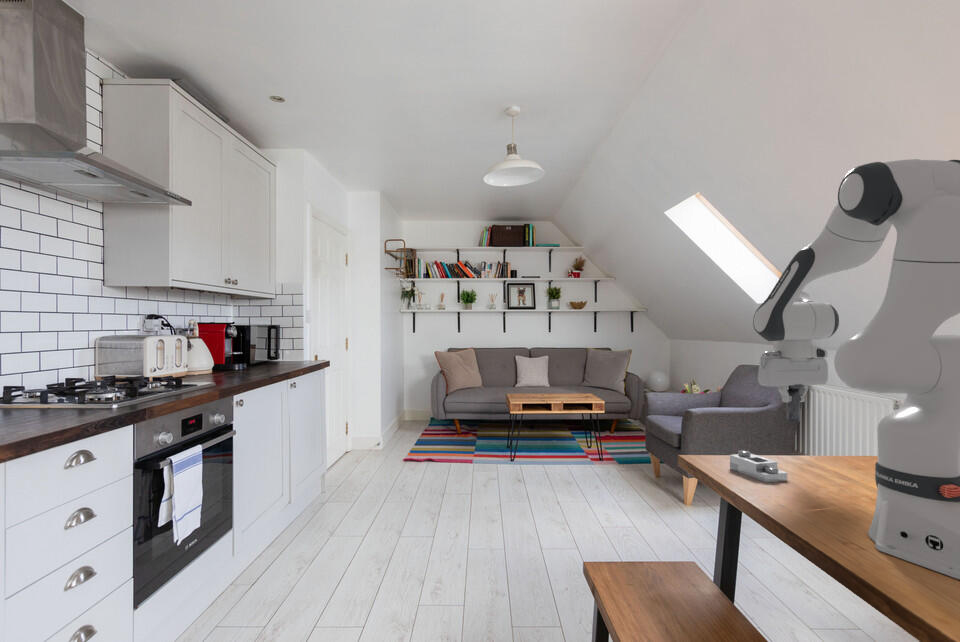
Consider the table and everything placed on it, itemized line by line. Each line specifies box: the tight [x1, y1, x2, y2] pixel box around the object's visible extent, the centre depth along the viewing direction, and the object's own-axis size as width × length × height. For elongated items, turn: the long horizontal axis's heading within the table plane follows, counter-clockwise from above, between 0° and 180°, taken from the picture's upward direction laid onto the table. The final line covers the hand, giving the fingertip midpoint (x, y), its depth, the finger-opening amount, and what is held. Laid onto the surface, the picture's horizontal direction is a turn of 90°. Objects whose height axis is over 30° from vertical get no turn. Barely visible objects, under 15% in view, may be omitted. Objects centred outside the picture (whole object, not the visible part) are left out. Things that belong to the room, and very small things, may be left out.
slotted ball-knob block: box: [729, 450, 788, 484], centre depth 126 cm, size 12×7×5 cm, turn 14°
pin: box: [786, 385, 803, 423], centre depth 126 cm, size 4×4×10 cm
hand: (793, 402), depth 125 cm, fingers closed on pin, 3 cm apart
